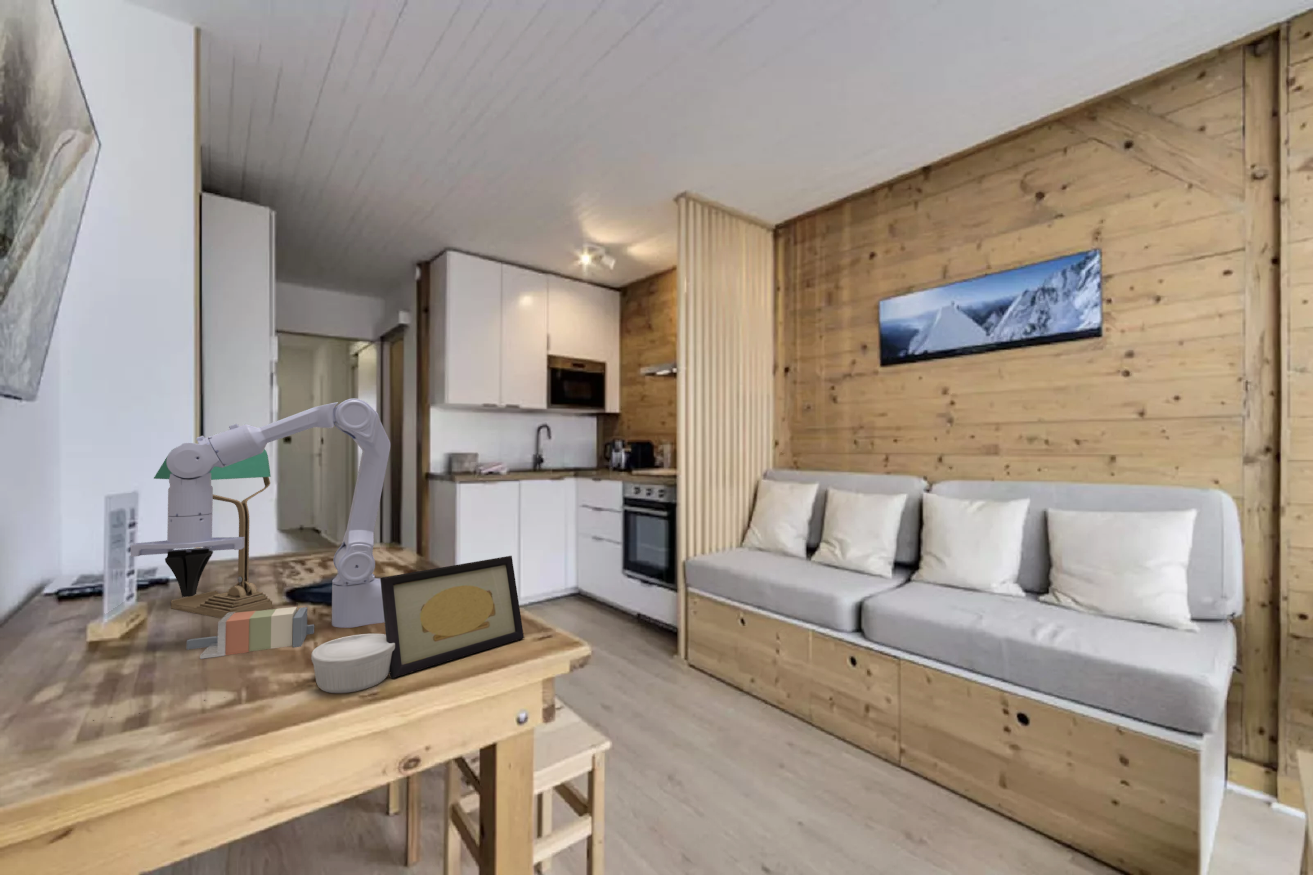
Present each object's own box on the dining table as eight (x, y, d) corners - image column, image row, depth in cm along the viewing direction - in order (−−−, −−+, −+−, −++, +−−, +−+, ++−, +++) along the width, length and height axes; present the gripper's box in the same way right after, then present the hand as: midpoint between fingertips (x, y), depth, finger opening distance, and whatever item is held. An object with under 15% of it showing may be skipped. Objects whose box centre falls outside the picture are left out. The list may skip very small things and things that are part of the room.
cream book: (296, 637, 95) (297, 606, 95) (292, 646, 91) (292, 613, 91) (276, 640, 94) (276, 608, 94) (270, 649, 90) (271, 616, 90)
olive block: (276, 640, 94) (276, 608, 94) (270, 649, 90) (271, 616, 90) (255, 643, 93) (255, 611, 93) (248, 651, 89) (249, 618, 89)
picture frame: (393, 679, 81) (390, 578, 82) (371, 669, 87) (368, 575, 88) (524, 639, 98) (520, 556, 99) (498, 633, 104) (494, 554, 105)
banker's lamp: (208, 625, 105) (211, 446, 105) (145, 612, 112) (148, 445, 113) (288, 603, 119) (291, 446, 120) (228, 593, 127) (231, 446, 127)
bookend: (234, 644, 92) (235, 611, 92) (225, 655, 87) (225, 621, 87) (211, 647, 90) (211, 614, 91) (200, 658, 85) (200, 624, 86)
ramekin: (377, 659, 89) (377, 627, 89) (409, 678, 81) (409, 643, 81) (299, 682, 80) (299, 646, 80) (327, 706, 73) (327, 667, 73)
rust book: (255, 642, 93) (256, 610, 93) (248, 652, 88) (248, 619, 89) (234, 645, 92) (234, 612, 92) (225, 655, 87) (226, 621, 87)
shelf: (314, 638, 98) (314, 605, 98) (307, 653, 91) (307, 617, 91) (188, 654, 90) (188, 618, 90) (169, 672, 83) (170, 633, 83)
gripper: (249, 509, 97) (248, 584, 97) (144, 514, 91) (142, 594, 91) (238, 514, 91) (237, 594, 91) (125, 519, 85) (123, 605, 84)
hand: (189, 595), depth 90 cm, fingers closed
